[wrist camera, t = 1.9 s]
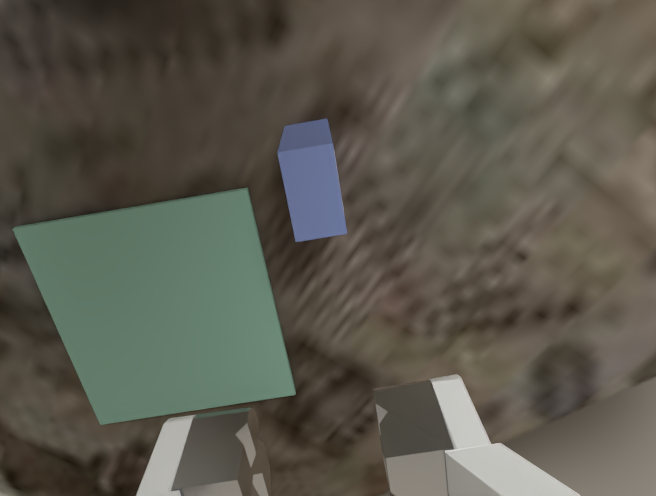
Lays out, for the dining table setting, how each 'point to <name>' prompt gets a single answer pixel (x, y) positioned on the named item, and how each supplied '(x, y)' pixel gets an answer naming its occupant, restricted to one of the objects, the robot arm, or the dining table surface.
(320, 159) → the block
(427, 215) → the dining table surface
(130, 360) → the mat
